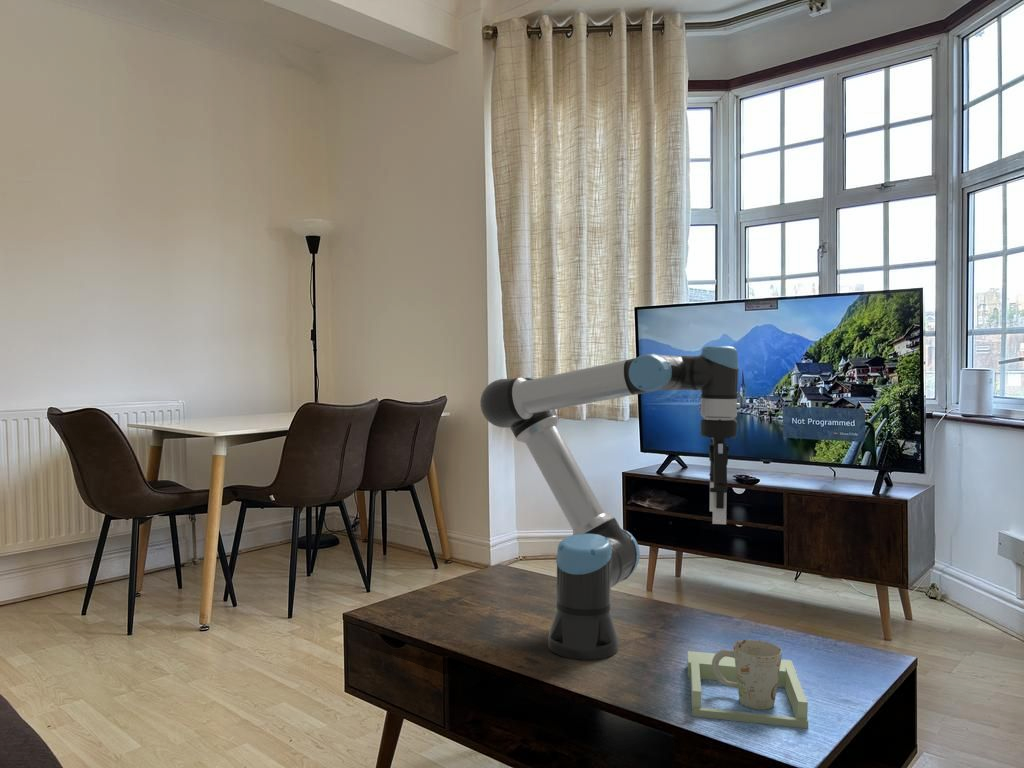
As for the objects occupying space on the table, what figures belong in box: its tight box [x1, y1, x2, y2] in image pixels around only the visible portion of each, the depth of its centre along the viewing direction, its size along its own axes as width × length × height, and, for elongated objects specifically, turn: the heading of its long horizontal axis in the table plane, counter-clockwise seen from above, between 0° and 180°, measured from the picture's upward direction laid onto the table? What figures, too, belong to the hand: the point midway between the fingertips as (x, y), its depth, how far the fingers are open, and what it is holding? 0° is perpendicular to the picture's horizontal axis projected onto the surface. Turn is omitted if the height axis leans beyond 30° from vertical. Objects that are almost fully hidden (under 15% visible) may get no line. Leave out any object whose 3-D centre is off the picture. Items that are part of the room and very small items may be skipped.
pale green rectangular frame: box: [687, 650, 809, 729], centre depth 138 cm, size 20×22×4 cm
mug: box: [712, 639, 783, 711], centre depth 136 cm, size 8×13×10 cm, turn 58°
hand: (717, 517), depth 159 cm, fingers open, 13 cm apart
